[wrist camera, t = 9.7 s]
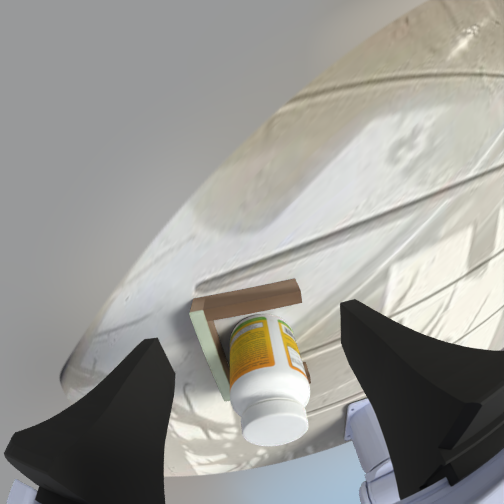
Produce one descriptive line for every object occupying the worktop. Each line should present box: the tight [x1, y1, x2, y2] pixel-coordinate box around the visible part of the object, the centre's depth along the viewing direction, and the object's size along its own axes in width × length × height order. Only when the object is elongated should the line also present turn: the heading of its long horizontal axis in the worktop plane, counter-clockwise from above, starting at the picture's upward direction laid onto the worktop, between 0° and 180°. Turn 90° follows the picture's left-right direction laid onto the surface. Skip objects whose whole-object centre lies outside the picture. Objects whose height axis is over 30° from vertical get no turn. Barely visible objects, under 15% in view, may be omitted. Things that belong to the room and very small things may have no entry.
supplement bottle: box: [230, 314, 310, 446], centre depth 18 cm, size 5×5×10 cm
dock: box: [189, 279, 311, 401], centre depth 21 cm, size 10×8×2 cm
